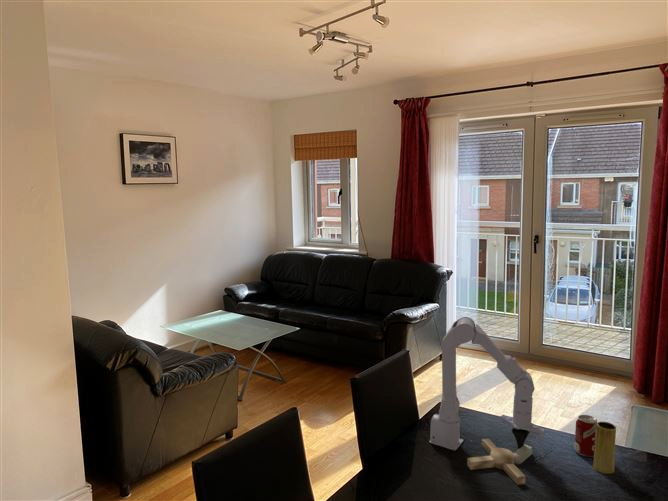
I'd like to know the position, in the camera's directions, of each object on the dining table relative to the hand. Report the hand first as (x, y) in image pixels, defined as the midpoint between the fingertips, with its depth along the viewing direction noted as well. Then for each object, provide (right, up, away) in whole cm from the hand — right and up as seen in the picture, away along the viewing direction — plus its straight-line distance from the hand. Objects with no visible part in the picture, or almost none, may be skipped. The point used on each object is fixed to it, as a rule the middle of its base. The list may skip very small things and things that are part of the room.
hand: (520, 449), depth 164 cm
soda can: (+21, -2, 0) cm, 22 cm away
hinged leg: (-1, -2, -3) cm, 3 cm away
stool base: (-12, -2, -7) cm, 14 cm away
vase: (+22, -3, -9) cm, 24 cm away
